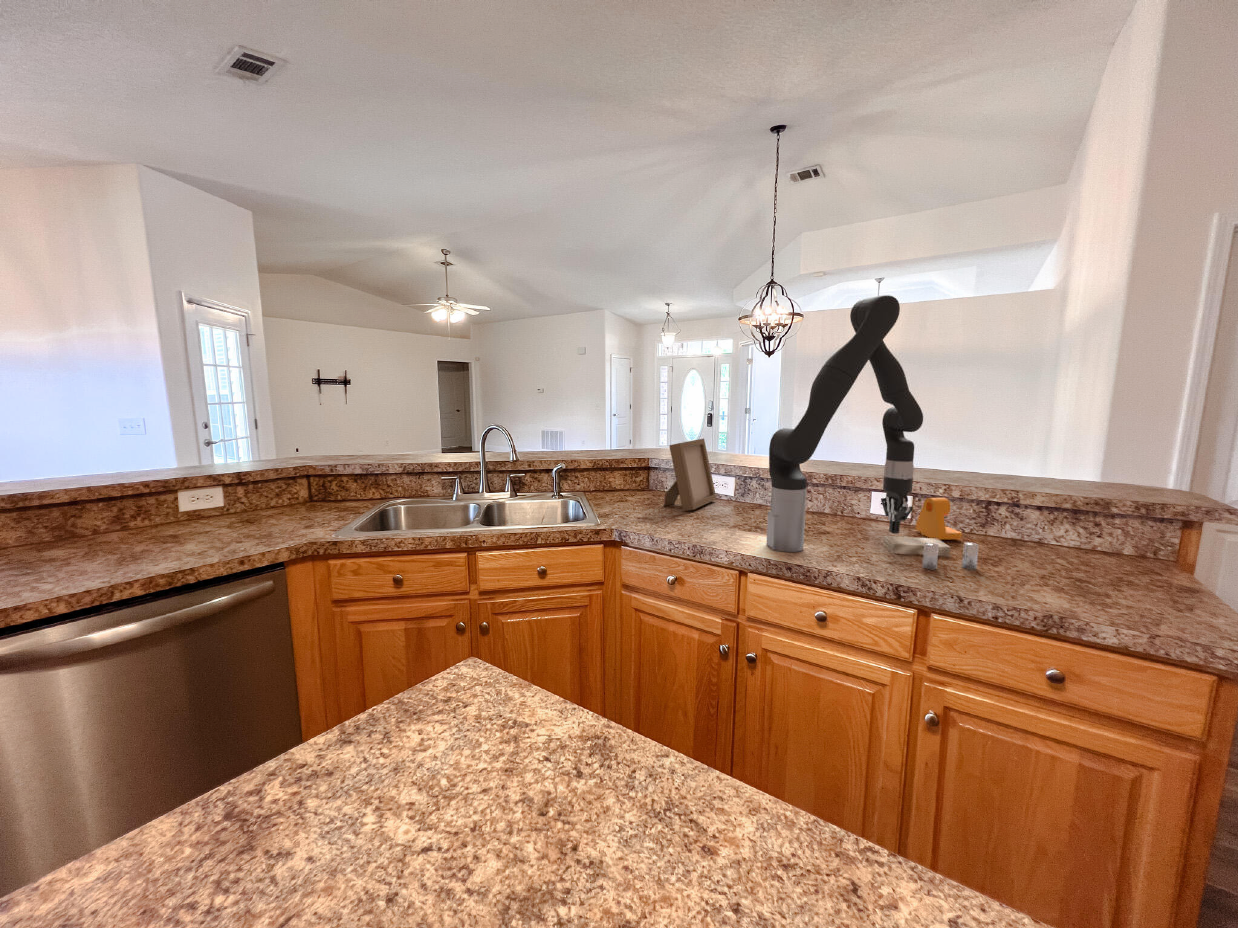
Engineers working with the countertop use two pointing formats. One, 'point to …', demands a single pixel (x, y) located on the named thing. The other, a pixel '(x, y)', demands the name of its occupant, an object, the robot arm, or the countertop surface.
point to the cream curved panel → (914, 545)
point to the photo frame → (691, 475)
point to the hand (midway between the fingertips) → (894, 532)
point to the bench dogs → (967, 562)
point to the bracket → (936, 520)
